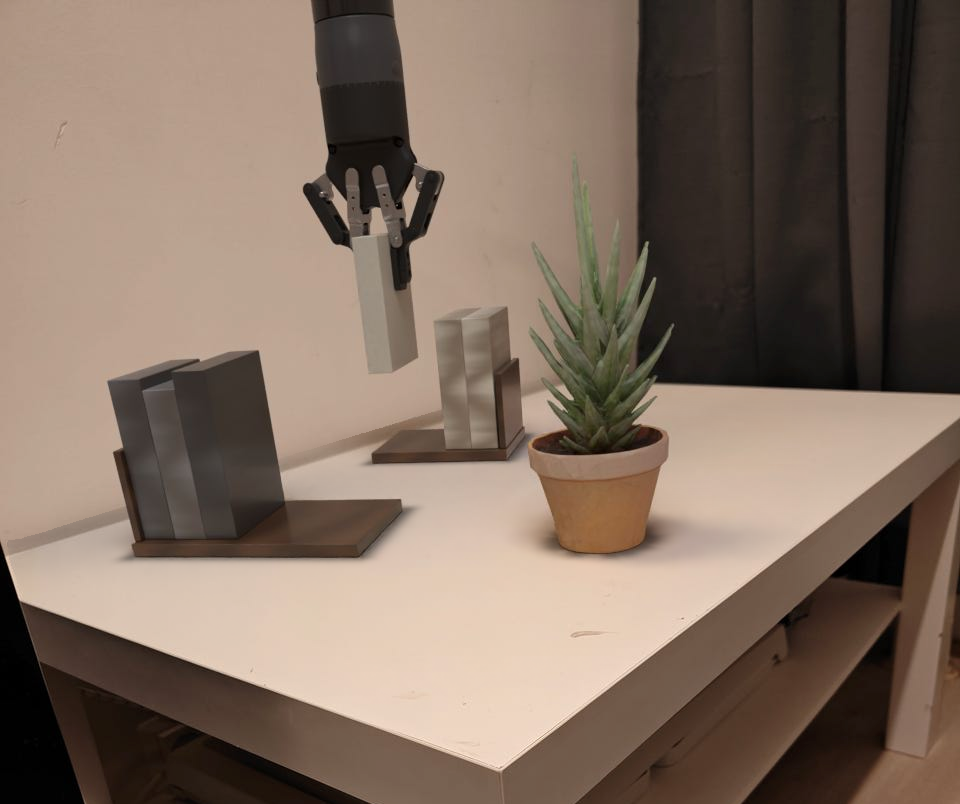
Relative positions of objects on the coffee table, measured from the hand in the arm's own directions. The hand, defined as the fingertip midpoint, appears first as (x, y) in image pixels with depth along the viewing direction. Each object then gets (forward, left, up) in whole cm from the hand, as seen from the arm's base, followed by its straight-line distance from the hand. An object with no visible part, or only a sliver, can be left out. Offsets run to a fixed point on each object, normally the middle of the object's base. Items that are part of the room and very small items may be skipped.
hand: (385, 290), depth 90 cm
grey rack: (-3, -26, -16) cm, 30 cm away
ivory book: (0, 0, -7) cm, 7 cm away
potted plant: (+23, -28, -16) cm, 40 cm away
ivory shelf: (+5, 0, -16) cm, 16 cm away
